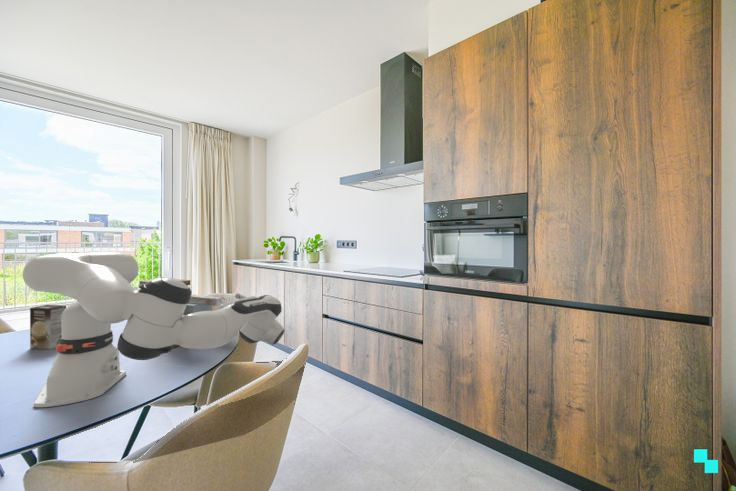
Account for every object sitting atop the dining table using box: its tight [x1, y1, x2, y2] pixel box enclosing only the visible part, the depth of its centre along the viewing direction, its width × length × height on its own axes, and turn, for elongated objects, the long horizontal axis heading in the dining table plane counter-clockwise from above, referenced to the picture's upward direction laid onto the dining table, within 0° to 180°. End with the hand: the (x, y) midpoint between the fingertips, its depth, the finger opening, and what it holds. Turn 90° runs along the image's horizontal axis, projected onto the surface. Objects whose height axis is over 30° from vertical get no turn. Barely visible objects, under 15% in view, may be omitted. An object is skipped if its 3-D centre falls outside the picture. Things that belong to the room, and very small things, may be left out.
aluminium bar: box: [189, 293, 225, 307], centre depth 137 cm, size 24×4×3 cm, turn 70°
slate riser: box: [183, 303, 213, 315], centre depth 138 cm, size 10×10×15 cm
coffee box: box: [29, 304, 67, 350], centre depth 123 cm, size 9×6×16 cm
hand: (228, 296), depth 132 cm, fingers open, 8 cm apart
